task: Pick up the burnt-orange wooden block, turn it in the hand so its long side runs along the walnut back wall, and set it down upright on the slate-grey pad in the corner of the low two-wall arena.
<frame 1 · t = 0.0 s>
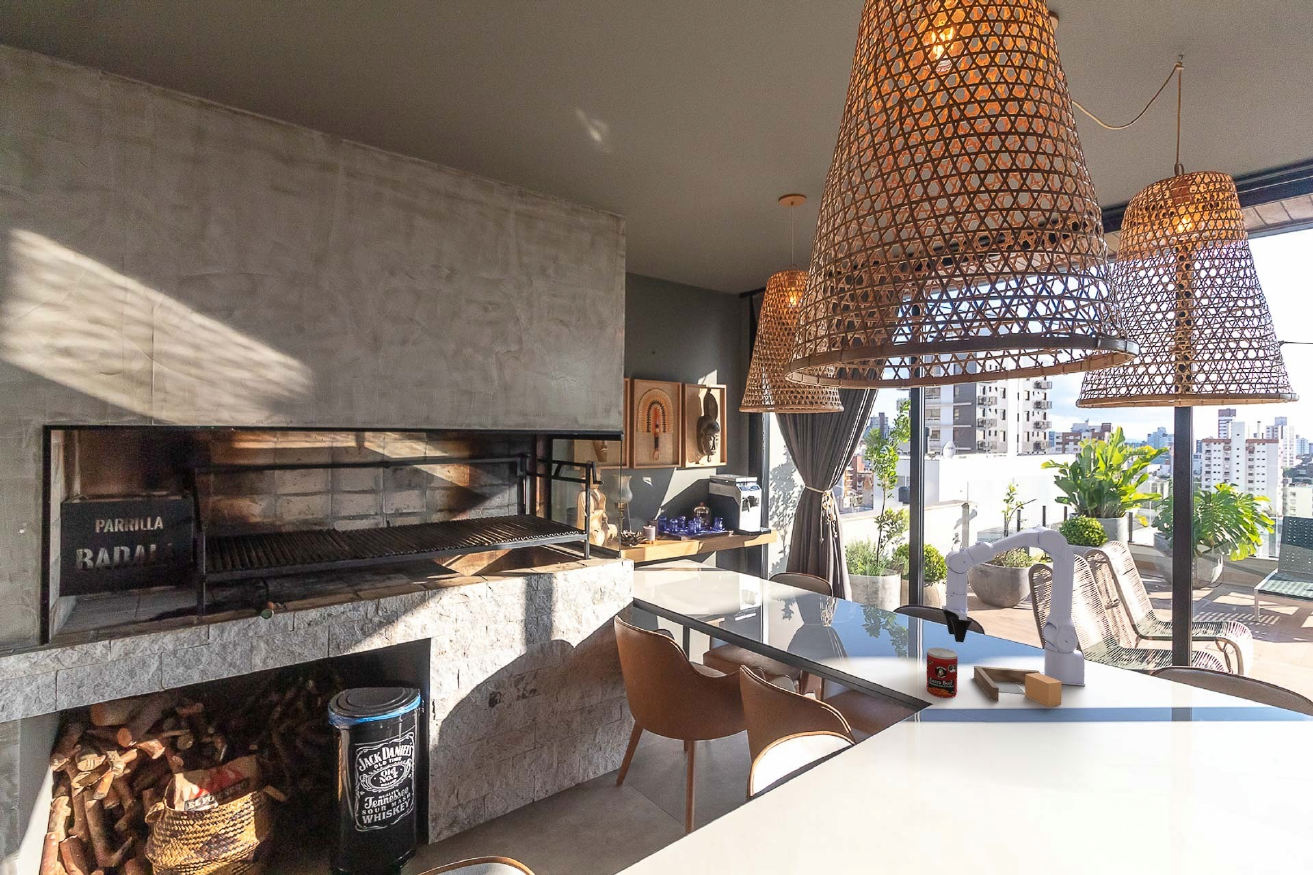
hand: (956, 637, 195), 10 cm above the table, tool pointing down, fingers open, 7 cm apart
canned food: (941, 693, 179), on the table
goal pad: (1003, 687, 184), on the table
arena: (1017, 691, 181), on the table
block: (1042, 700, 175), on the table
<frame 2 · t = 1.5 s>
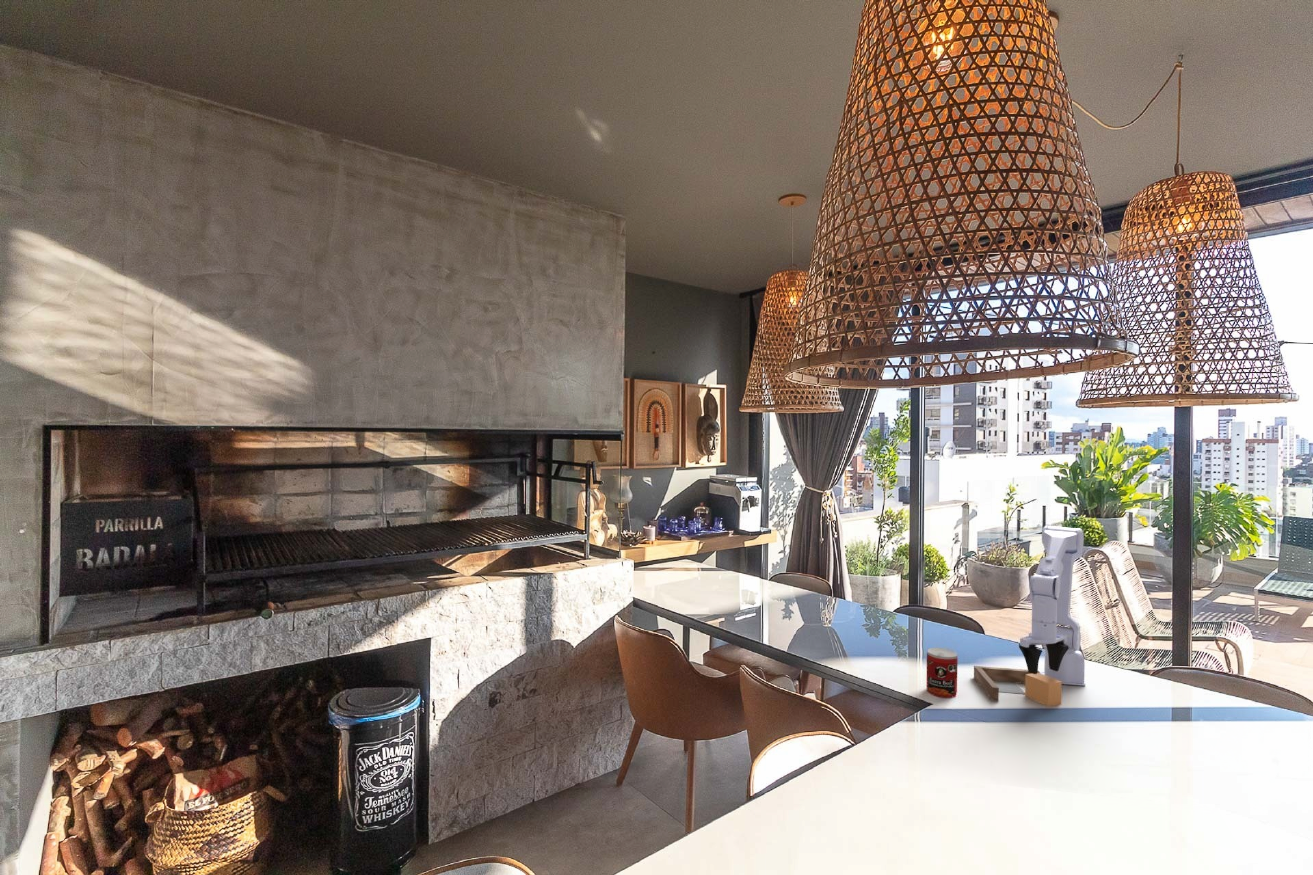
hand: (1043, 671, 175), 8 cm above the table, tool pointing down, fingers open, 7 cm apart
nothing on the table moved.
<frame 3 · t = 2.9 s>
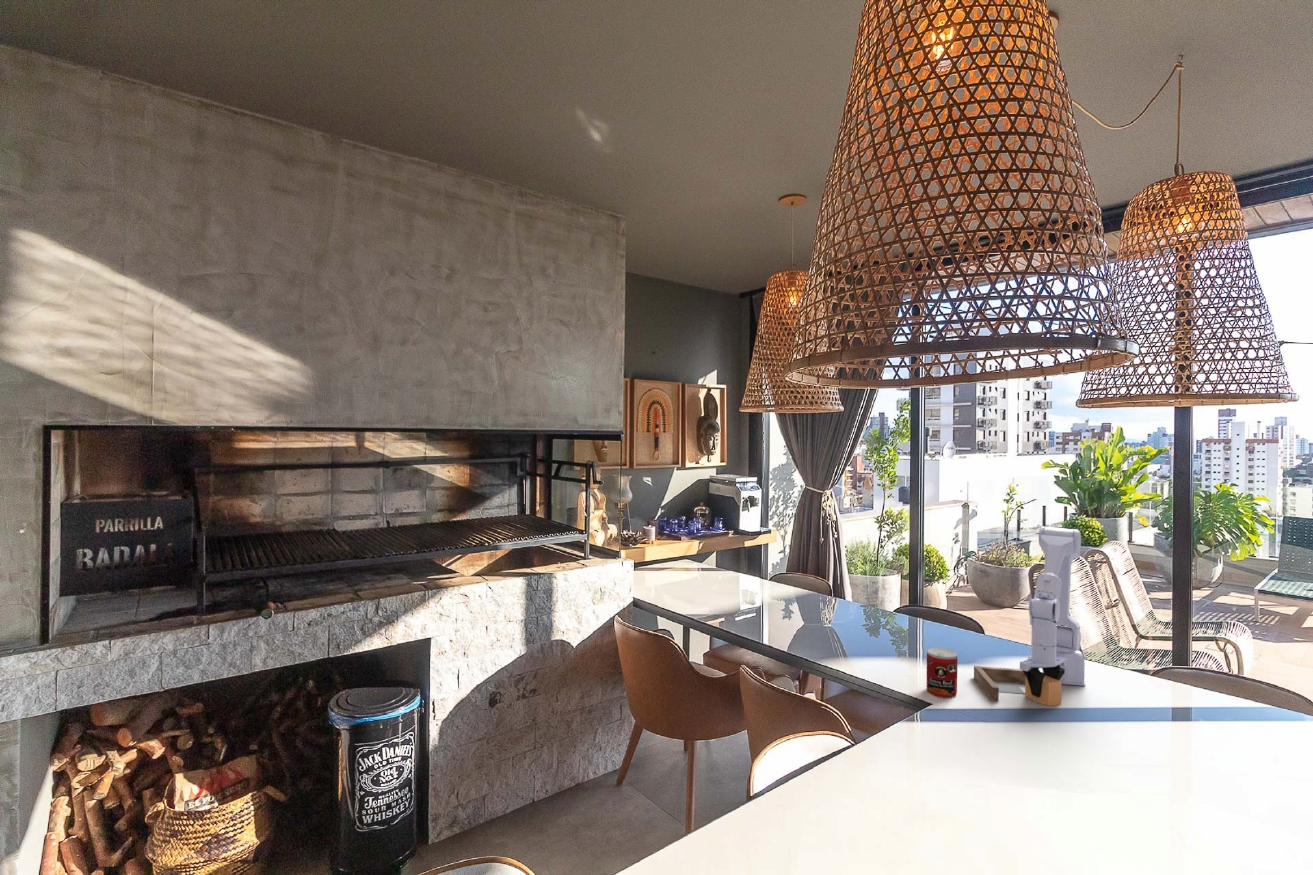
hand: (1043, 694, 175), 1 cm above the table, tool pointing down, fingers closed on block, 4 cm apart
block: (1042, 700, 175), on the table, touching gripper
everything else where it was.
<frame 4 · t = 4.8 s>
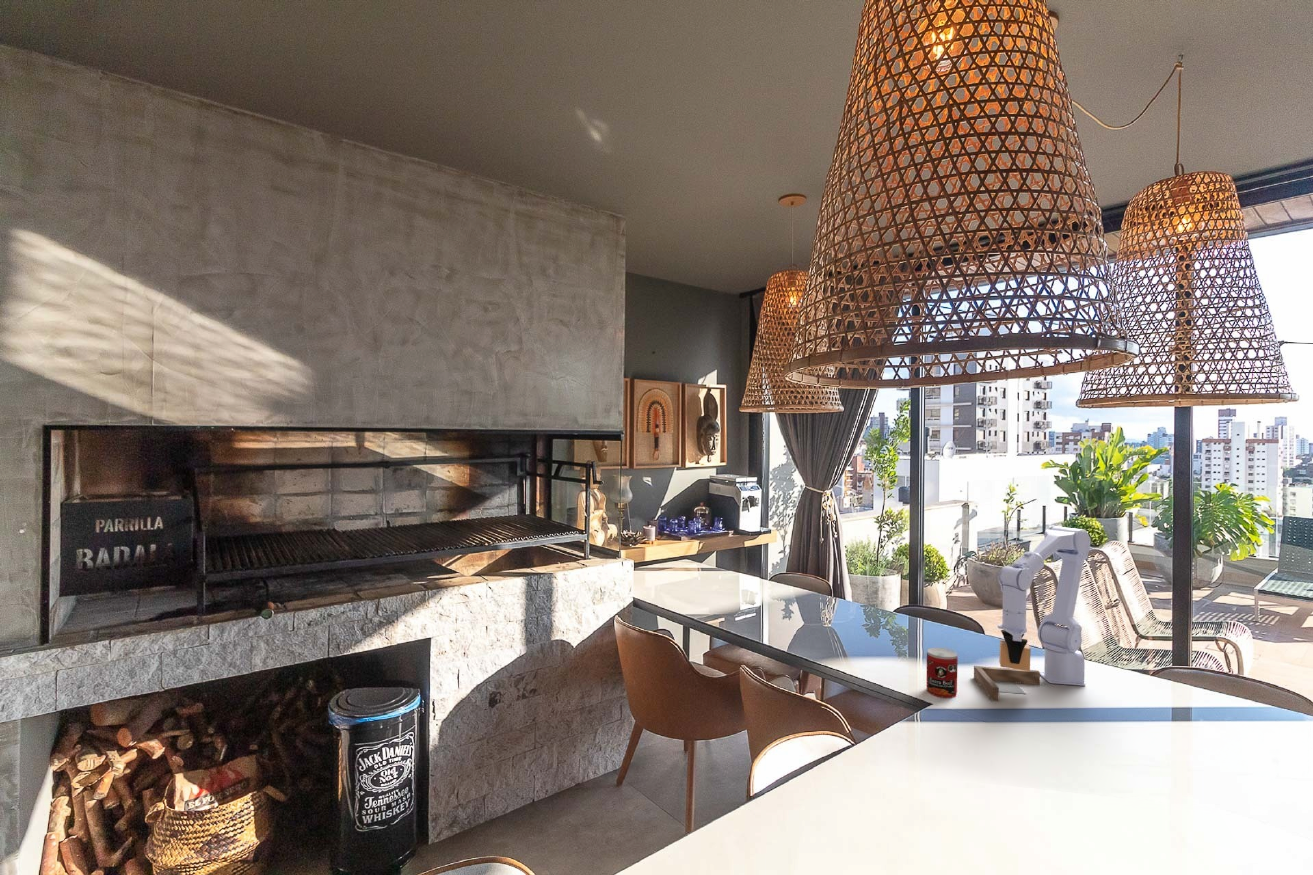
hand: (1013, 660, 181), 8 cm above the table, tool pointing down, fingers closed on block, 4 cm apart
block: (1014, 666, 181), point 7 cm above the table, touching gripper
everything else where it was.
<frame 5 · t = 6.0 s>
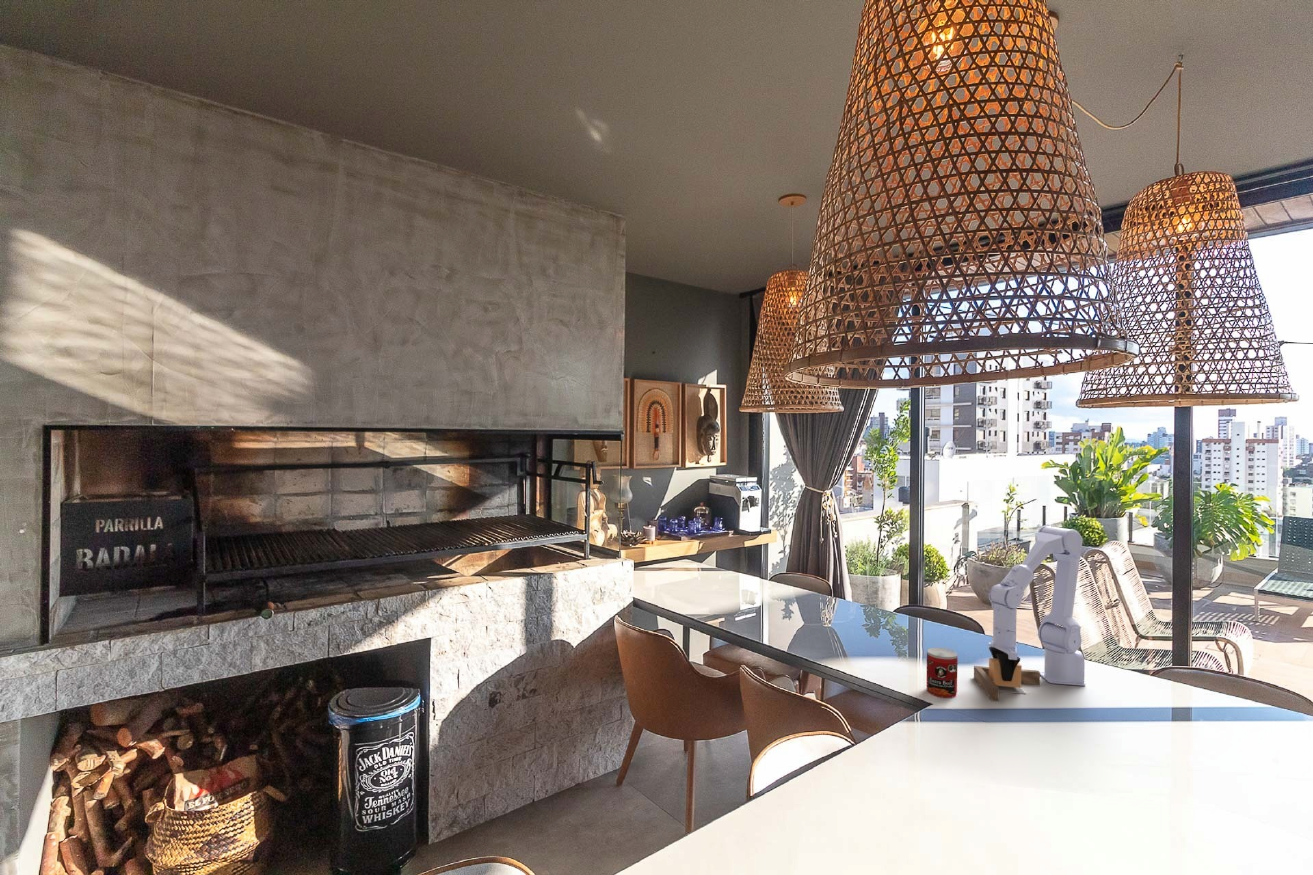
hand: (1003, 677, 183), 3 cm above the table, tool pointing down, fingers closed on block, 4 cm apart
block: (1004, 683, 183), point 1 cm above the table, touching gripper
everything else where it was.
when the fingers open (2 cm above the table, at t = 7.0 s): block stays where it is, resting on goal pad.
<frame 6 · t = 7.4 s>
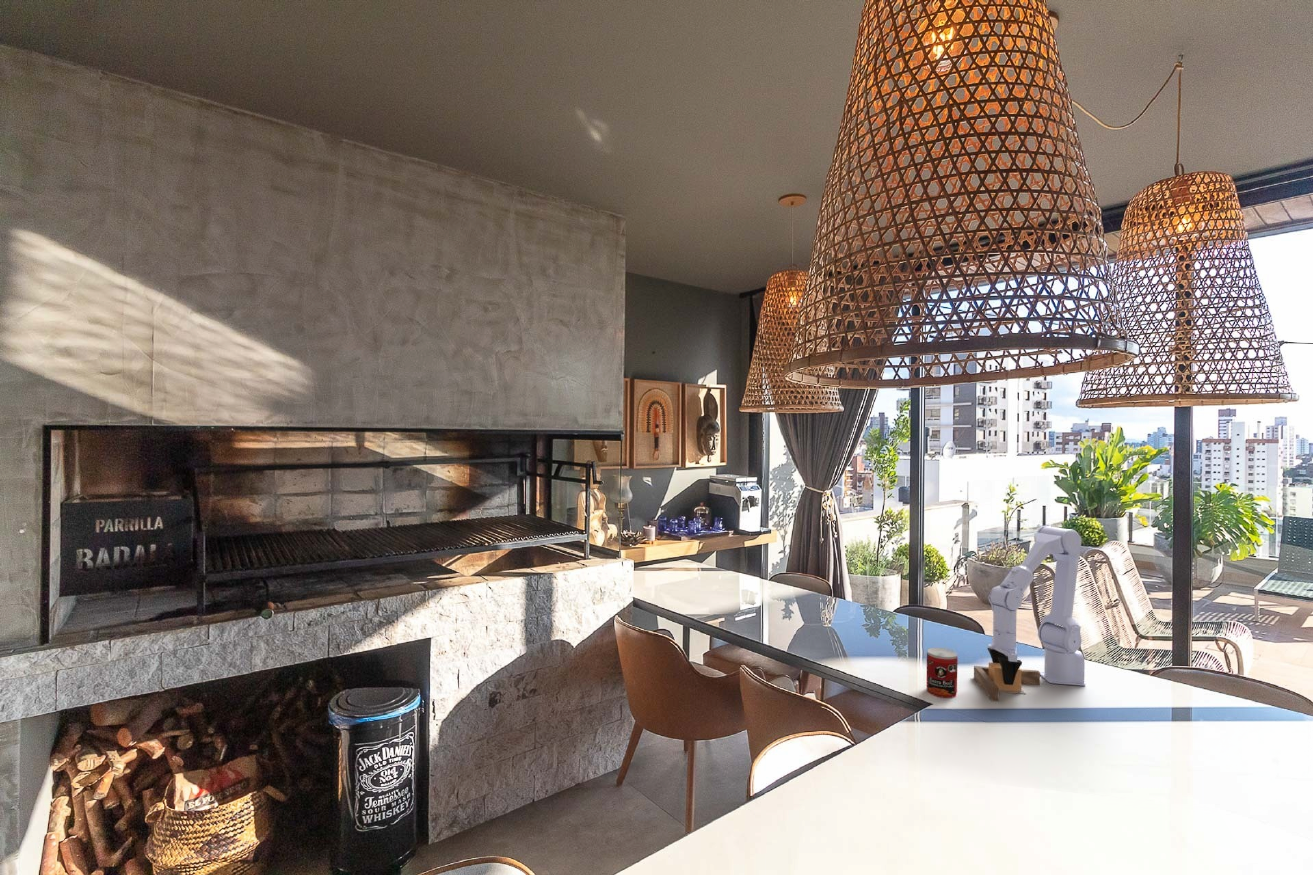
hand: (1003, 679, 183), 2 cm above the table, tool pointing down, fingers open, 7 cm apart
block: (1004, 687, 183), resting on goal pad
everything else where it was.
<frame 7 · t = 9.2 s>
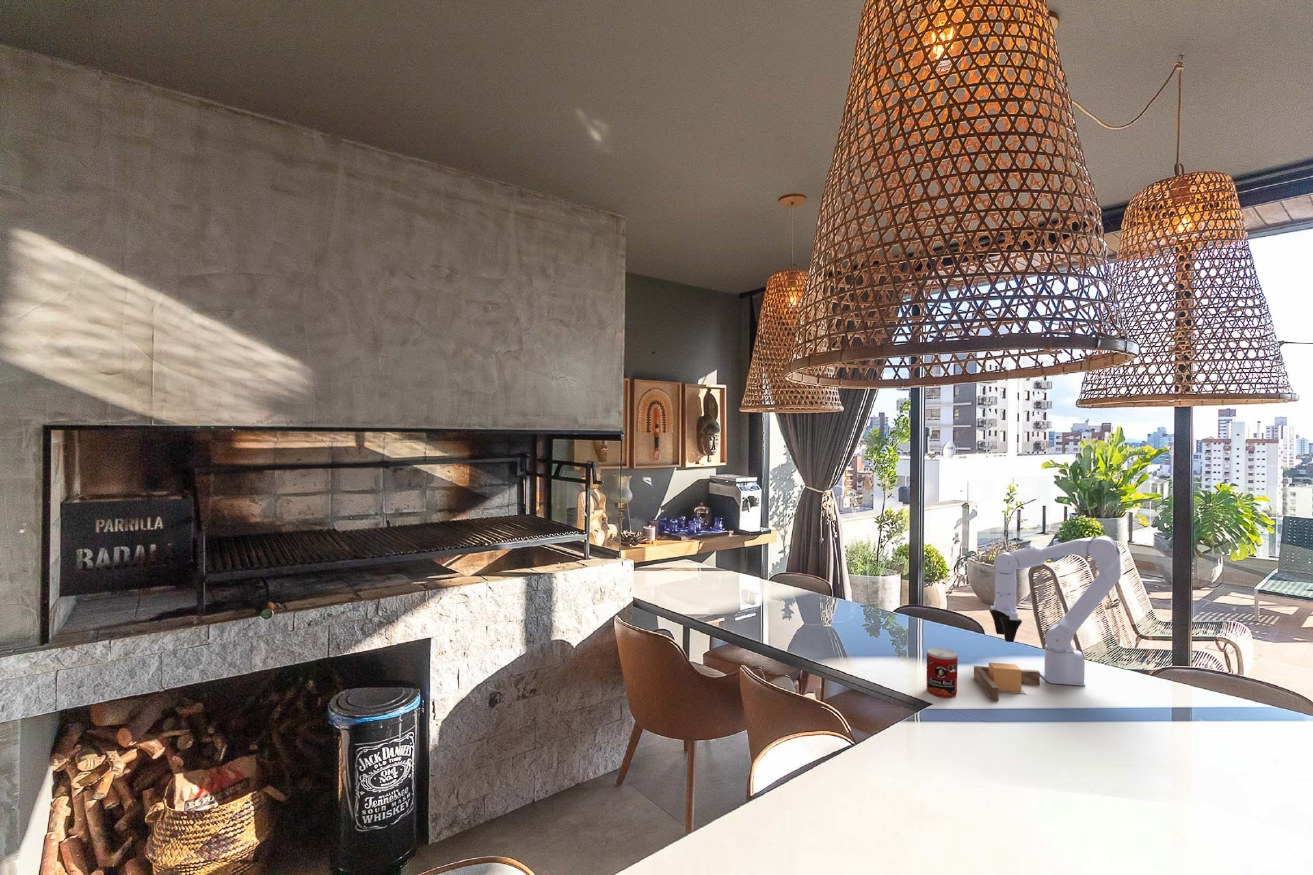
hand: (1004, 637, 199), 9 cm above the table, tool pointing down, fingers open, 7 cm apart
nothing on the table moved.
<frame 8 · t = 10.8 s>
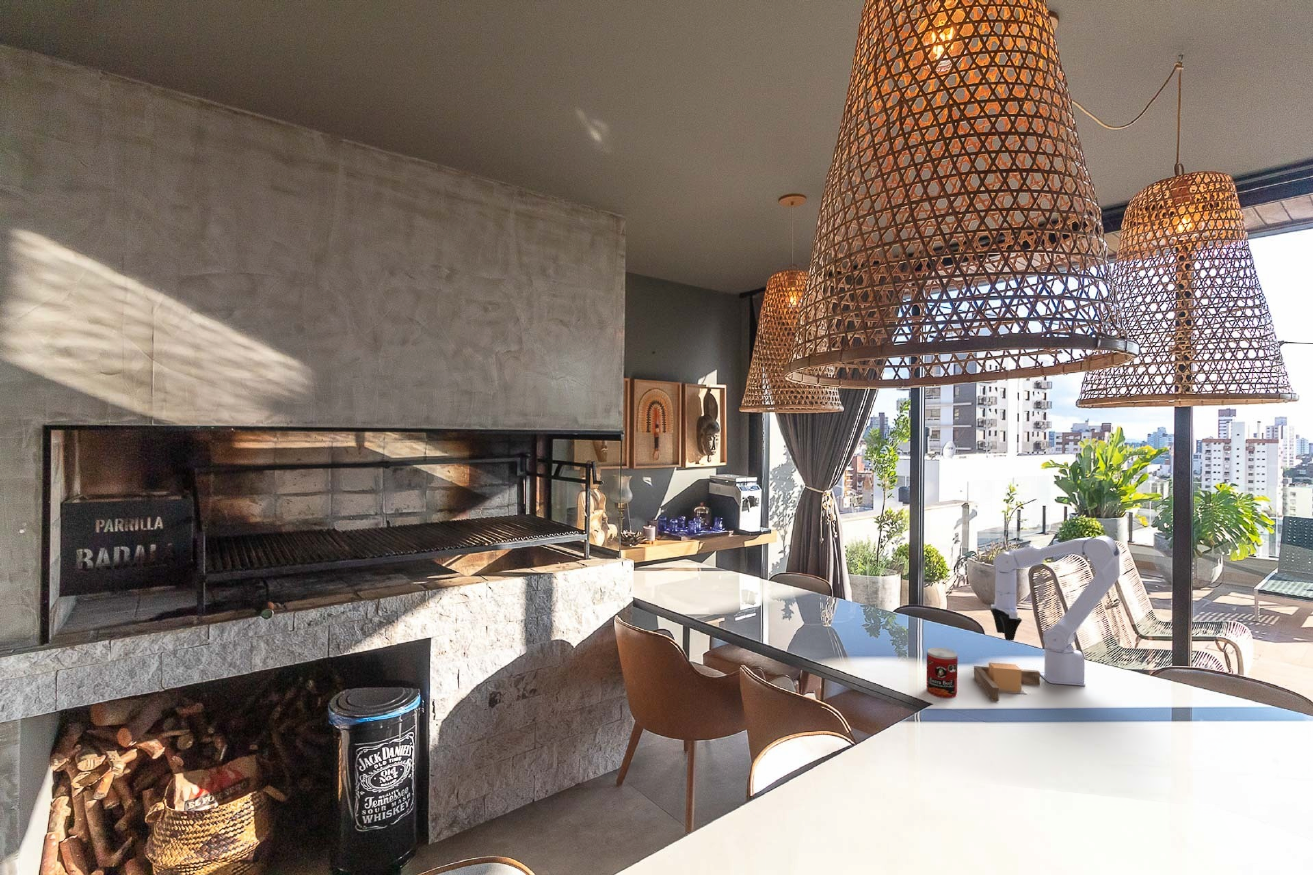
hand: (1005, 636, 200), 9 cm above the table, tool pointing down, fingers open, 7 cm apart
nothing on the table moved.
at the end: block 0.2 cm from the target spot, resting on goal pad; block tilted 0°; the gripper is holding nothing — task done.
